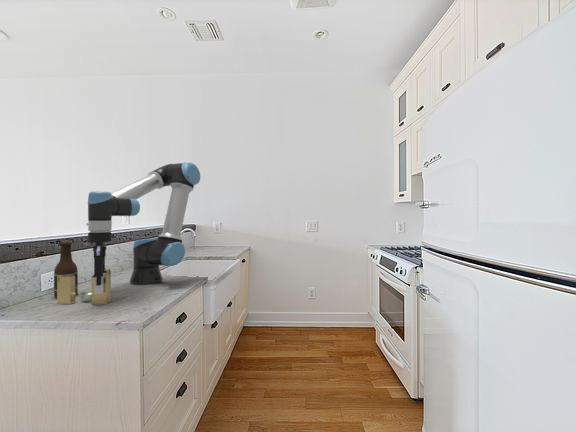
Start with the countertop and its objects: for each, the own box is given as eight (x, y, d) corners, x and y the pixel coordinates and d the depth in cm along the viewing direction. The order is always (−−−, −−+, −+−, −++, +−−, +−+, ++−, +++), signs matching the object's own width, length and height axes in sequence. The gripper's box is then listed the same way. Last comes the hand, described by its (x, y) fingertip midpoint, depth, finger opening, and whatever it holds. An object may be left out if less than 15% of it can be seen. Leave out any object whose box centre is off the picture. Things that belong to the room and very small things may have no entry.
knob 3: (101, 296, 118) (101, 271, 118) (96, 296, 118) (96, 271, 118) (110, 292, 123) (110, 268, 123) (105, 292, 123) (105, 268, 123)
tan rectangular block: (75, 302, 110) (75, 275, 110) (70, 304, 107) (70, 276, 107) (62, 301, 110) (62, 275, 110) (57, 303, 108) (57, 276, 108)
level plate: (121, 293, 127) (121, 281, 127) (120, 306, 109) (120, 293, 109) (63, 299, 117) (63, 287, 117) (50, 316, 98) (50, 301, 98)
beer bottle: (64, 302, 113) (64, 243, 113) (49, 301, 115) (48, 242, 115) (82, 297, 121) (82, 241, 121) (67, 295, 122) (67, 241, 122)
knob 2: (91, 304, 108) (91, 276, 107) (95, 302, 110) (95, 275, 110) (105, 304, 107) (105, 277, 107) (109, 302, 110) (109, 275, 110)
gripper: (91, 230, 114) (91, 287, 114) (84, 233, 99) (84, 299, 99) (112, 230, 118) (112, 285, 118) (109, 232, 103) (109, 296, 103)
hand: (99, 291), depth 109 cm, fingers closed on knob 2, 4 cm apart
